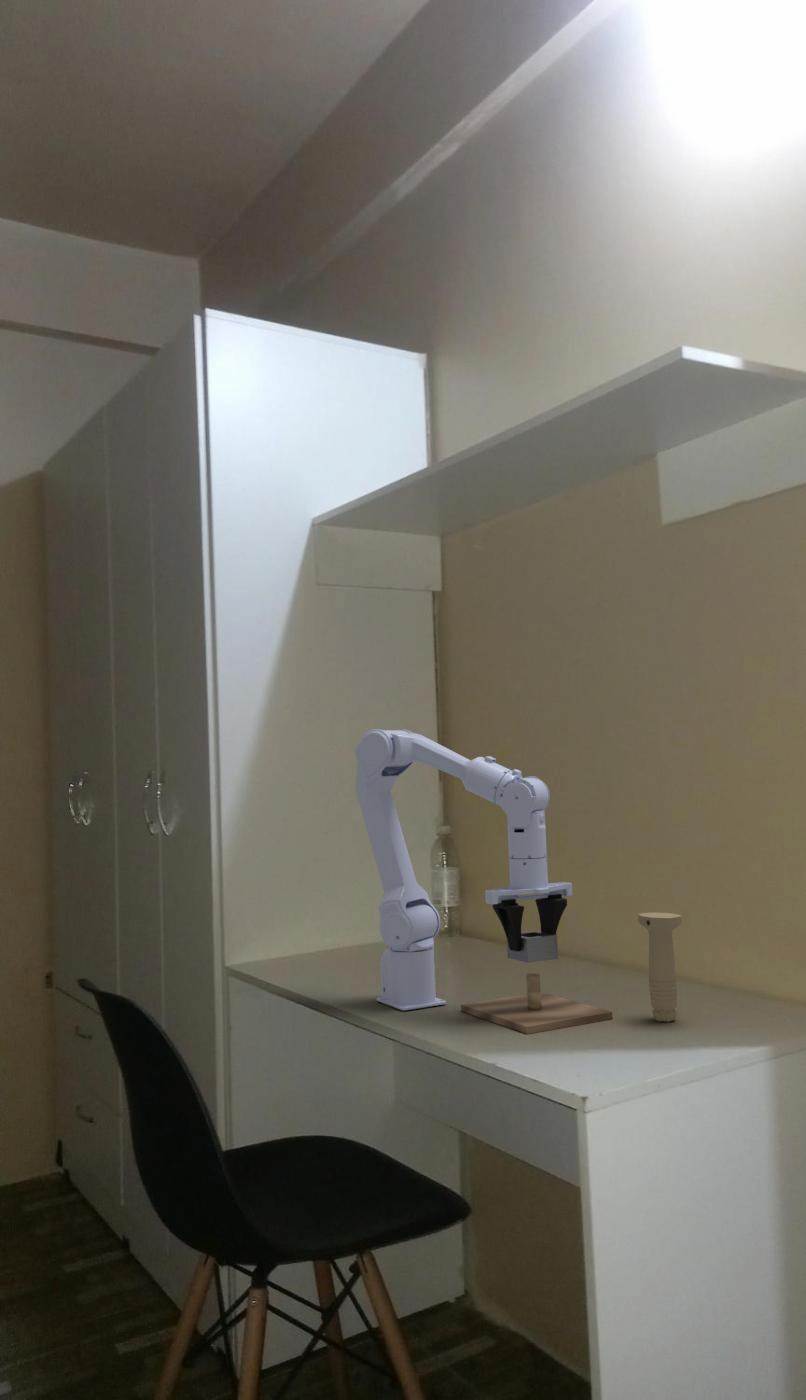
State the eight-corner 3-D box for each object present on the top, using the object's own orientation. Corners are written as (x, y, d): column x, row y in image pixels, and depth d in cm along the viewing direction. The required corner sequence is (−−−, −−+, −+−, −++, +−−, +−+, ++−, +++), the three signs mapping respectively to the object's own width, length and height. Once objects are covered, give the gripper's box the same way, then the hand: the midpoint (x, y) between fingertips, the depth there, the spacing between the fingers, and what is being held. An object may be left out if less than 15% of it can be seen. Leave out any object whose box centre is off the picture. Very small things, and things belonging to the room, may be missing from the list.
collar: (507, 957, 169) (506, 934, 169) (537, 953, 171) (536, 930, 172) (528, 962, 164) (527, 938, 164) (558, 958, 167) (557, 935, 167)
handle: (659, 1013, 165) (654, 911, 166) (693, 1020, 160) (687, 915, 161) (636, 1018, 162) (631, 915, 163) (670, 1026, 157) (664, 919, 158)
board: (461, 1011, 172) (459, 971, 172) (541, 998, 179) (539, 960, 179) (527, 1034, 156) (525, 990, 156) (612, 1018, 163) (610, 977, 163)
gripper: (501, 862, 162) (506, 957, 161) (582, 855, 169) (586, 946, 168) (476, 859, 168) (480, 950, 167) (555, 852, 175) (559, 940, 174)
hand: (531, 948), depth 168 cm, fingers closed on collar, 5 cm apart
